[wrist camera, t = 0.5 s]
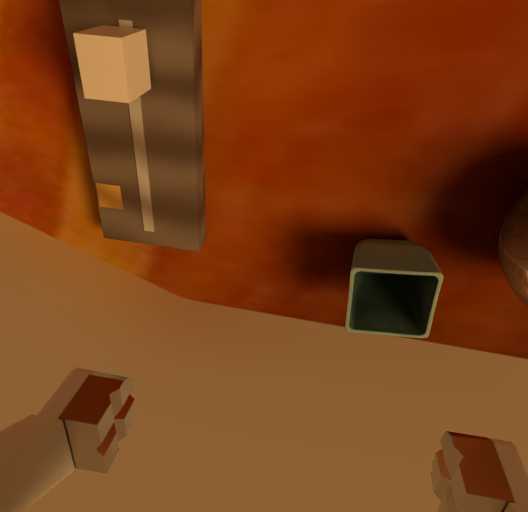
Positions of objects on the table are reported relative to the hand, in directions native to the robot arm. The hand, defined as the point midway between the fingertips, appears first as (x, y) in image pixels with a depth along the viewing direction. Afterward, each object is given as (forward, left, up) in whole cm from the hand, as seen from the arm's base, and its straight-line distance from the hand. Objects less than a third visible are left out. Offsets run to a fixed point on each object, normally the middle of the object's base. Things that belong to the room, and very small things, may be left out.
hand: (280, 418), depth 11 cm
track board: (+7, -18, -37) cm, 41 cm away
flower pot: (+19, +10, -37) cm, 42 cm away
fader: (-1, -18, -33) cm, 38 cm away
